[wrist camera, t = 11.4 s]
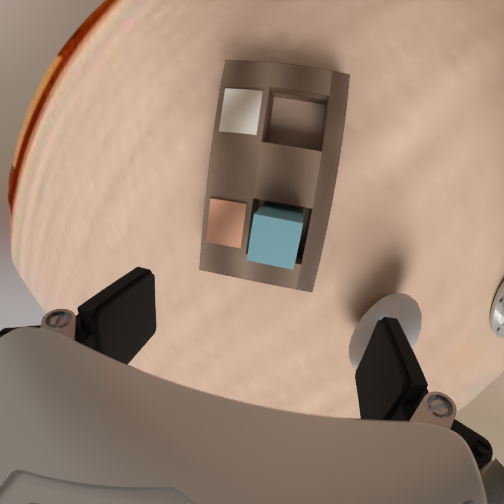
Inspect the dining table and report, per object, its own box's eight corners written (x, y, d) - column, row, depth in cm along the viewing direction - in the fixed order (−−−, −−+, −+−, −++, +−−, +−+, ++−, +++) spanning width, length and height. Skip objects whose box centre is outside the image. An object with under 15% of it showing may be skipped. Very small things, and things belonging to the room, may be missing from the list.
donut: (392, 273, 29) (422, 316, 20) (409, 289, 29) (441, 333, 20) (338, 331, 32) (346, 386, 23) (357, 344, 33) (368, 398, 23)
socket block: (344, 86, 24) (350, 73, 20) (311, 277, 31) (312, 293, 27) (235, 72, 25) (224, 59, 21) (211, 257, 32) (198, 270, 28)
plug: (303, 208, 29) (303, 223, 21) (296, 243, 30) (293, 269, 23) (266, 201, 29) (253, 213, 22) (260, 236, 31) (246, 260, 23)
